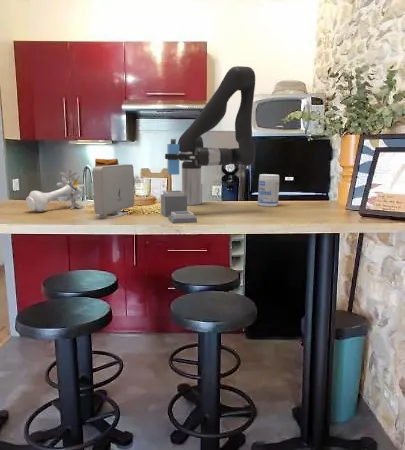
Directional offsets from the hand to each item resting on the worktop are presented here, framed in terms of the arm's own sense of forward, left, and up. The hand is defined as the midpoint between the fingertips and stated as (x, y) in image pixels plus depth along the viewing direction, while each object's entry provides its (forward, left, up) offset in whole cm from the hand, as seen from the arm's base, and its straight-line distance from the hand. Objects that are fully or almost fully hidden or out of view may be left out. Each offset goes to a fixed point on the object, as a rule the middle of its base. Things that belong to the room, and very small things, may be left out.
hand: (166, 156), depth 173 cm
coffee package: (-1, -38, -24) cm, 45 cm away
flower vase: (+21, -46, -24) cm, 56 cm away
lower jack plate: (+6, +14, -24) cm, 28 cm away
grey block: (-2, +2, -24) cm, 24 cm away
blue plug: (-2, +1, -7) cm, 8 cm away
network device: (+13, -17, -24) cm, 32 cm away
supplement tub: (-51, +18, -24) cm, 59 cm away
